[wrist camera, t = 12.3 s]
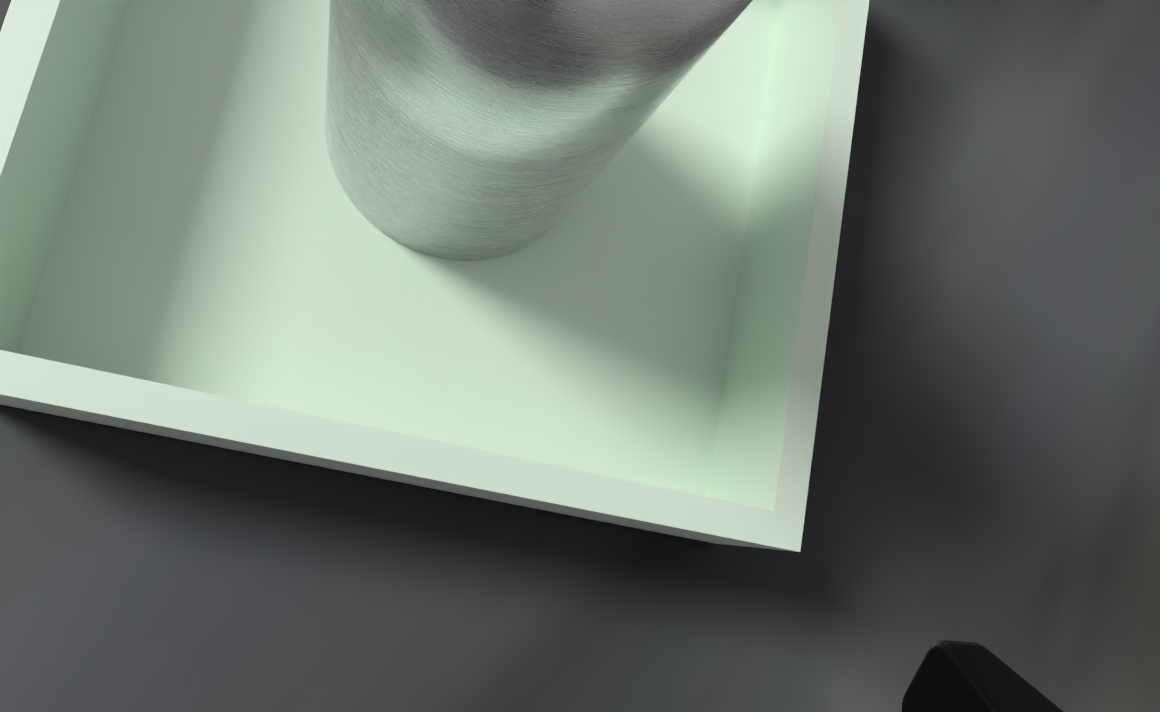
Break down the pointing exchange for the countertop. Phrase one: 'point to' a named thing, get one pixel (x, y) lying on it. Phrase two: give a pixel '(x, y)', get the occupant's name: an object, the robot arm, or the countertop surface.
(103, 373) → the tray
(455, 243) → the steel canister
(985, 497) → the countertop surface
